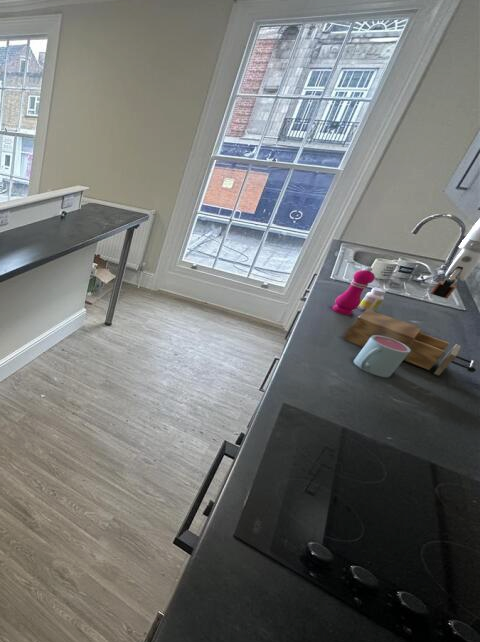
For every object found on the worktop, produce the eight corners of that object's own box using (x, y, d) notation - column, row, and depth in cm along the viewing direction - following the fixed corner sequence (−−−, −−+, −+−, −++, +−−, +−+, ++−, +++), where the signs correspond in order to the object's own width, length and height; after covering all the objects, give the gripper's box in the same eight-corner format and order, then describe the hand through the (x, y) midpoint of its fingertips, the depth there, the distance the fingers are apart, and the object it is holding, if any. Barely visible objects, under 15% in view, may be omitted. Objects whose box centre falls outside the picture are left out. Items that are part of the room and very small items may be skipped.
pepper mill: (343, 317, 159) (374, 271, 149) (325, 308, 165) (353, 263, 155) (356, 316, 161) (387, 270, 151) (337, 307, 167) (366, 263, 157)
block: (449, 296, 143) (457, 285, 141) (446, 298, 141) (455, 287, 139) (432, 291, 146) (440, 280, 144) (429, 293, 144) (438, 282, 142)
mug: (362, 358, 133) (381, 333, 128) (396, 375, 126) (417, 349, 121) (338, 364, 128) (356, 339, 123) (371, 383, 121) (391, 356, 116)
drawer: (467, 373, 129) (485, 354, 125) (462, 385, 123) (481, 365, 119) (391, 344, 141) (406, 326, 137) (384, 353, 135) (398, 334, 131)
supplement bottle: (371, 310, 168) (386, 289, 163) (375, 315, 164) (390, 294, 159) (355, 306, 170) (369, 285, 165) (358, 311, 166) (373, 290, 161)
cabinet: (403, 351, 140) (421, 328, 135) (395, 361, 133) (414, 338, 128) (352, 331, 150) (367, 309, 145) (342, 340, 143) (358, 317, 138)
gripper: (490, 253, 127) (450, 304, 136) (496, 246, 136) (458, 294, 145) (457, 246, 132) (420, 294, 142) (465, 239, 141) (430, 286, 150)
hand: (440, 294), depth 143 cm, fingers closed on block, 4 cm apart
